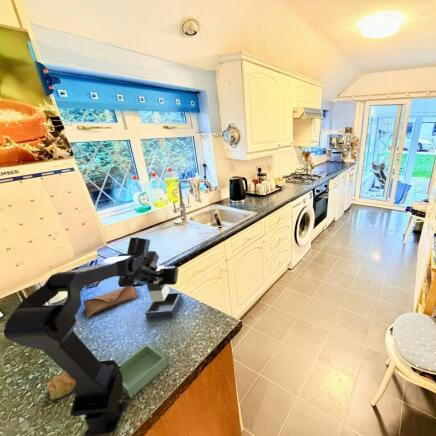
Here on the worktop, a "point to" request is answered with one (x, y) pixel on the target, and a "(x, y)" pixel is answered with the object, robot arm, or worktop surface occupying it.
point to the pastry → (61, 385)
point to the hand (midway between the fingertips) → (159, 280)
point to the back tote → (164, 307)
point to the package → (158, 289)
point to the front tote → (141, 369)
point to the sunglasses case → (109, 300)
